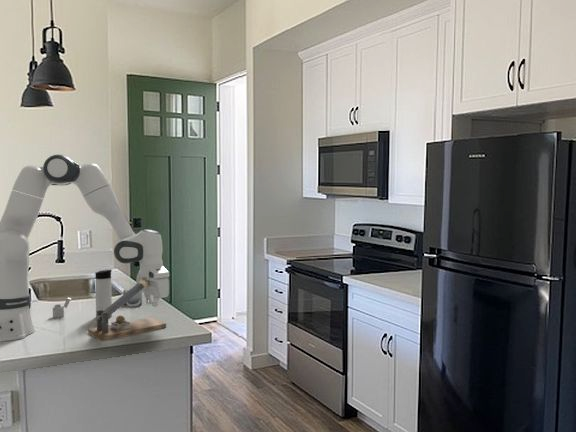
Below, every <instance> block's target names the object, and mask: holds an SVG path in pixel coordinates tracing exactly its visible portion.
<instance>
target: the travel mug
mask: <svg viewBox="0 0 576 432" xmlns="http://www.w3.org/2000/svg"><path fill="white" fill-rule="evenodd" d="M94 277H95V281H94V282H95V286H94V287H95V317H96V319H97V310H103V311H104V310H105V309H107V308H108V307H109V306H110V305H112V304H113V303H112V300H113V299H112V296H113V295H112V269H106V270H104V269H103V270H98V271H96V272H95V276H94ZM112 316H113V313H112V314H111V315H110V316H109V317H108V319H110V318H112Z"/></svg>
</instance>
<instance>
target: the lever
mask: <svg viewBox="0 0 576 432" xmlns="http://www.w3.org/2000/svg"><path fill="white" fill-rule="evenodd" d="M149 283H150V282H149V281H148V280H147V279H146V278H141V279H140V281H139V283H138V284H135V285H134V286H132V287H130V288H131V289H130V290H129V291H128V292H126V293H125V294H124V295H121V297H119V298H118V299H116V300H115V301H114V302H113V303H112V305H110V306H109V307H108V308H107V309H105V310H104V311H103V312H108V317H109V316H110V315H111V314H112V315H113V314H114V313H115V312H116V311H117V310H119V309H120V308H121V307H123V305H126V304H125V303H126V302H127V301H128V300H130V299H131V298H132V297H133V296H134V295H136V294H137V293H138V292H139V291H140V290H142V289H143V288H146V287H148V286H149ZM103 312H102V313H103ZM97 318H98V320H99V321H101V322H102V314H101V313H100V314H99V315H98V316H97ZM97 318H96V319H97Z"/></svg>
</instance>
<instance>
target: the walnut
mask: <svg viewBox="0 0 576 432" xmlns="http://www.w3.org/2000/svg"><path fill="white" fill-rule="evenodd" d="M115 319H116V320H115V321H116V322H117V323H118V324H122V323H124V321H126V317H124V316H123V315H118V316H117V317H116V318H115Z"/></svg>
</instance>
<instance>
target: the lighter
mask: <svg viewBox="0 0 576 432" xmlns="http://www.w3.org/2000/svg"><path fill="white" fill-rule="evenodd" d="M71 301H72V298H71V297H67V299H66V300H65V303H64V304H63V305H62V304H60V303H59V304H54V306H52V318H53V319H55V318H56V319H57V318H64V317H65V314H64V313H65V311H64V309H67V308H68V306H69V304H70V302H71Z"/></svg>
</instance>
